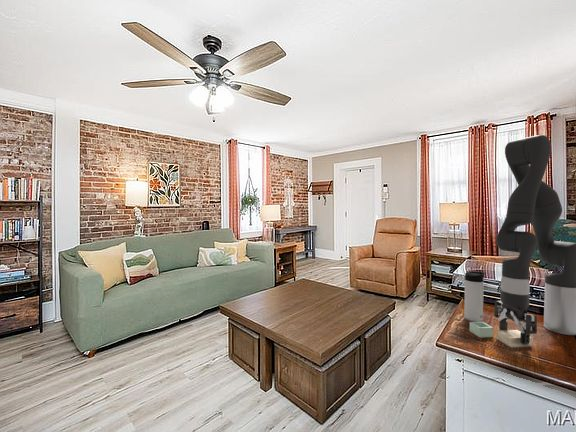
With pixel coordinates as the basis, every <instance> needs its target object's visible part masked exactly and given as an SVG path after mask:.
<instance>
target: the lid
mask: <svg viewBox="0 0 576 432" xmlns="http://www.w3.org/2000/svg"><path fill="white" fill-rule="evenodd" d="M520 336H521V330H518V329H507V330H500V329H499V330H497V337H496V338H497V339H498V340H500V341H502V342H503V343H505V344H507V345H508V346H510V347H528V346H532V336H530V342H529V344H525V345H523V344H521V343H520ZM497 339H496V340H497ZM498 340H497V341H498ZM500 341H499V342H500ZM502 342H501V343H502ZM503 343H502V344H503ZM505 344H504V345H505ZM508 346H507V347H508ZM510 347H509V348H510ZM528 348H529V347H528Z"/></svg>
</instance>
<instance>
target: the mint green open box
mask: <svg viewBox="0 0 576 432" xmlns="http://www.w3.org/2000/svg"><path fill="white" fill-rule="evenodd" d="M469 332H470V333H472V334H473V335H475V336H476V337H478V338H481V339H482V338H483V339H485V338H494V327H493V326H491V325H489V324H488V323H486V322H485V321H483V322H471V321H469Z"/></svg>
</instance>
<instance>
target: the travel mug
mask: <svg viewBox="0 0 576 432" xmlns="http://www.w3.org/2000/svg"><path fill="white" fill-rule="evenodd" d="M464 275H465V276H464V306H463V307H464V308H463V309H464V311H463V312H464V313H463V314H464V315H463V316H464V319H465V320H467V321H469V322H484V275H485V272H484V271H466V272H465V273H464Z"/></svg>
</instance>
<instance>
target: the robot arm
mask: <svg viewBox="0 0 576 432" xmlns="http://www.w3.org/2000/svg"><path fill="white" fill-rule="evenodd" d="M551 143H552V142H551V141H550V139H549V137H548V136H547V135H544V134H538V135H532V136H528V137H523V138H519V139H514V140H511V141H508V143H507V144H506V145H505V147H504V156H505V160H506V162H507V165H508V166H509V168H510V171H511V173H512V175H513V177H514V179H515V181H516V182H517V186H516V187H515V189H514V190H513V191H512V193H511V194H510V196H509V199H508V202H507V208H506V209H507V210H506V216H505V219H504V221H503V223H502V225H501V227H500V229H499V231H498V233H497V235H496V237H495V238H496V239H495V244H496V246H497V248H499V250H501V251H505V252H514V253H519V255H517V257H515V258H514V257H512V258H511V257H510V258H504V259H503V260H502V264H501V278H500V295H499V296H500V298H499V299H500V300H495V301H494V307H493V308H494V311H493V313H494V314H493V316H494V317H495V318H497V319H498V322H499V326H498V327H499V330H508V325H509V324H508V320H512V321H513V322H515V326H517V327H518V328H519V331H520V332H521V336H520V343H521V344H523V345H525V344H529V342H530V337H531V335H535V334H537V332H538V328H537V327H538V326H537V325H538V323H537V322H538V321H537V319H538V318H537V315H536V314H531V313H528V310H527V309H528V308H529V306H530V293H531V291H530V289H531V288H530V287H531V286H530V285H531V283H530V268H531V267H530V266H531V262H532V259H533V256H534V255H535V252H536V250H538V253H539V257H540V259H541V260H542V262H543V263H545V264H548V265H552V266H556V267H557V266H558V267H562V271H561V272H556V273H548V274H546V275H545V276H544V300H543V302H544V305H543V309H544V310H543V327H544V328H545V329H546V330H548V331H551V332H554V333H556V334H561V335H567V336H576V242H570V241H562V240H561V241H560V240H556V239H555V238H554V236H553V228H554V227H555V225H556V224H557V222H558V221H559V220H560V218H561V216H562V213H563V206H562V204H561V200H560V197H559V195H558V192H557V191H556V190H555V189H554V188H553V187H552V186H550V185H549V184H548V183H546V182H545V181H544V180H543V179H544V176H545V172H546V170H547V167H548V164H549V160H550V157H551V153H552V144H551ZM528 225H532V228H533V231H534V233H532V232H530V231H520V230H519V231H518V230H517V231H516V229H517V228H518V227H522V226H528Z"/></svg>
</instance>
